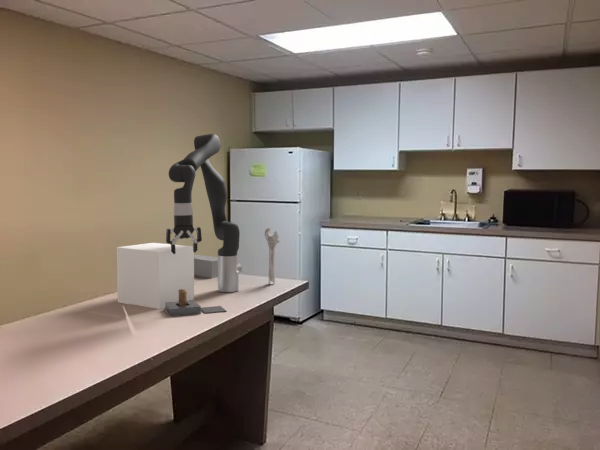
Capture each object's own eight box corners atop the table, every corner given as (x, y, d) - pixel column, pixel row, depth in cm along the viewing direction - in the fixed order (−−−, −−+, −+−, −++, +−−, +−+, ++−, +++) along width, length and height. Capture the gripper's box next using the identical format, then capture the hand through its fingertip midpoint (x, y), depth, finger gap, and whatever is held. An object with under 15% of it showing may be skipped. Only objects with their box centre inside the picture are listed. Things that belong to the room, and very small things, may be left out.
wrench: (279, 286, 268) (280, 227, 265) (278, 287, 266) (279, 228, 264) (265, 285, 270) (265, 227, 268) (264, 285, 269) (264, 227, 266)
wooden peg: (185, 310, 216) (185, 288, 215) (187, 312, 213) (187, 290, 212) (177, 311, 215) (177, 289, 214) (179, 313, 212) (179, 291, 211)
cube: (194, 300, 236) (193, 246, 234) (159, 310, 218) (159, 251, 216) (153, 293, 249) (152, 242, 246) (117, 302, 230) (116, 247, 228)
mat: (220, 306, 223) (220, 305, 223) (226, 311, 215) (226, 310, 215) (199, 308, 219) (199, 307, 219) (204, 313, 211) (204, 312, 211)
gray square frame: (194, 307, 222) (194, 300, 221) (200, 313, 211) (200, 306, 210) (165, 309, 217) (165, 302, 216) (170, 316, 206) (170, 309, 206)
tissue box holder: (242, 275, 299) (242, 256, 298) (212, 281, 280) (212, 261, 280) (211, 270, 314) (211, 252, 313) (181, 275, 295) (180, 256, 294)
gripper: (198, 212, 221) (198, 250, 223) (163, 213, 215) (165, 253, 217) (202, 213, 215) (203, 253, 216) (167, 215, 209) (168, 255, 210)
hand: (184, 252), depth 217 cm, fingers open, 8 cm apart
